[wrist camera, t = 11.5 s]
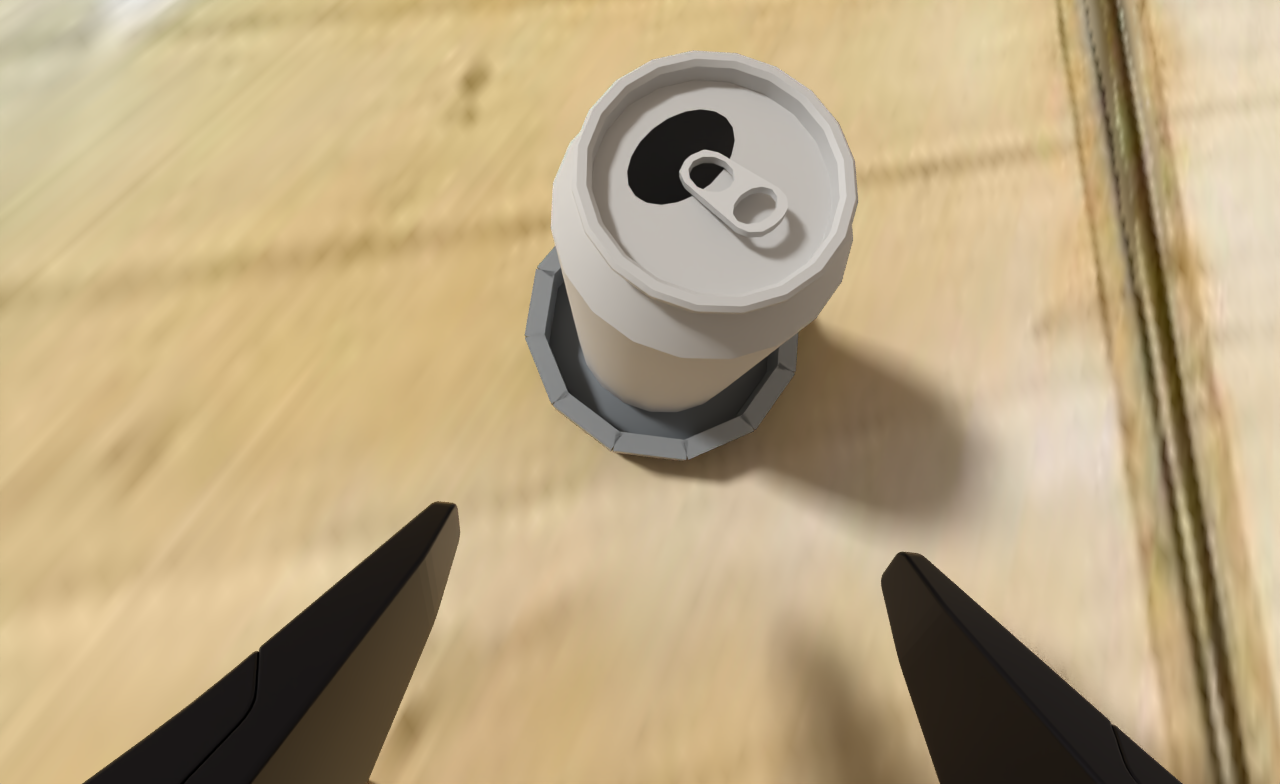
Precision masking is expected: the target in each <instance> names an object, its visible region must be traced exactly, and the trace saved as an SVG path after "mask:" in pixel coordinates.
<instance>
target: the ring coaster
mask: <svg viewBox="0 0 1280 784" xmlns="http://www.w3.org/2000/svg"><path fill="white" fill-rule="evenodd" d="M537 268H538V269H536V273H535V279H534V284H533V290H532V296H531V302H530V308H529V313H528V319H527V325H526V331H525V337H526V338H525V339H526V342H527V344H528V347H529V349H530V352H531V354H532V357H533V359H534V362H535V364H536V367H537V369H538V372H539V374H540V377H541V379H542V382H543V384H544V387H545V389H546V392H547V394H548V397H549V399H550V402H551V404H552V405H553V406H554V407H555V409H556V410H557V411H559V412H560V413H561V414H562V415H564V416H565V417H566V418H568V419H569V420H570V421H572V422H573V423H574V424H576V425H577V426H578V427H579V428H581V429H582V430H583V431H584V432H585V433H587V434H588V435H590V436H591V437H593V438H594V439H595V440H597V441H598V442H599V443H600V444H602V445H603V446H604V447H606V448H607V449H608V450H610V451H612V449H613V452H614V453H622V454H630V455H638V456H643V457H652V458H662V459H670V460H678V461H684V460H689V459H691V458H693V457H695V456H698V455H700V454H702V453H705V452H707V451H709V450H712V449H714V448H716V447H718V446H721V445H723V444H725V443H728V442H730V441H732V440H735V439H737V438H739V437H741V436H744V435H746V434H748V433H751V432H753V431H754V430H756V429H757V427H758V426H759V424H760V423H761V422H762V420H763V419H764V417H765V416H766V414H767V413H768V412H769V410H770V409H771V407H772V406H773V404H774V403H775V402H776V400H777V399H778V397H779V396H780V394H781V393H782V392H783V390H784V389H785V387H786V386H787V384H788V383H789V382H790V380H791V379H792V377H793V376H794V374H795V373H794V372H796V360H797V344H798V333H796V334H795V335H794V336H792V337H791V338H790V339H789V340H787V341H786V342H785V343H783V344H782V345H781V346H779V347H778V348H777V349H776V350H774V351H773V352H772V353H770V354H769V355H768V356H767V357H765V358H764V359H763V360H761V361H760V362H759V363H757V364H756V365H755V366H754V367H752V368H751V369H750V370H748V371H747V372H746V373H745V374H743V375H742V376H741V377H739V378H738V379H737V380H735V381H734V382H733V383H732V384H730V385H729V386H728V387H726V388H725V389H724V390H722V391H721V392H720V393H718V394H717V395H715V396H714V397H713V398H711V399H710V400H708V401H707V402H706V403H704V404H702V405H699V406H696V407H693V408H689V409H686V410H683V411H680V412H649V411H646V410H643V409H640V408H638V407H635V406H632V405H629V404H626V403H623V402H622V401H621V400H619V399H618V398H617V397H615V396H614V395H613V394H611V393H610V392H609V391H607V390H606V389H605V388H603V387H602V386H601V384H600V383H599V382H598V380H597V379H596V377H595V376H594V374H593V373H592V372H591V370H590V369H589V367H588V366H587V364H586V361H585V358H584V355H583V351H582V348H581V345H580V341H579V338H578V334H577V330H576V326H575V322H574V318H573V314H572V310H571V306H570V302H569V298H568V294H567V290H566V286H565V282H564V278H563V274H562V270H561V266H560V262H559V258H558V254H557V250H556V246H555V247H554V248H553V249H552V250H551V251H550V253H549V254H548V255H547V256H546V257H545V258H544V260H543V261H542V262H541V263H540V264H539V265H538V266H537Z"/></svg>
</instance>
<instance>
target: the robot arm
mask: <svg viewBox="0 0 1280 784" xmlns="http://www.w3.org/2000/svg"><path fill="white" fill-rule="evenodd" d="M459 537H460V526H459V516H458V508H457V505H456V504H454V503H449V502H439V501H437V502H434V503H432V504H431V505H429V506H428V507H427V508H426V509H425V510H423V511H422V512H421V513H420V514H419V515H417V516H416V517H415V518H414V519H413V520H411V521H410V522H409V523H408V524H407V525H405V526H404V527H403V528H402V529H401V530H399V531H398V532H397V533H396V534H395V535H393V536H392V537H391V538H390V539H389V540H387V541H386V542H385V543H384V544H383V545H381V546H380V547H379V548H378V549H377V550H375V551H374V552H373V553H372V554H371V555H370V556H368V557H367V558H366V559H365V560H364V561H362V562H361V563H360V564H359V565H358V566H356V567H355V568H354V569H353V570H352V571H350V572H349V573H348V574H347V575H346V576H344V577H343V578H342V579H341V580H340V581H338V582H337V583H336V584H335V585H334V586H332V587H331V588H330V589H329V590H328V591H326V592H325V593H324V594H323V595H322V596H320V597H319V598H318V599H317V600H316V601H315V602H313V603H312V604H311V605H310V606H309V607H307V608H306V609H305V610H304V611H303V612H301V613H300V614H299V615H298V616H297V617H295V618H294V619H293V620H292V621H291V622H289V623H288V624H287V625H286V626H285V627H283V628H282V629H281V630H280V631H279V632H277V633H276V634H275V635H274V636H273V637H271V638H270V639H269V640H268V641H267V642H265V643H264V644H263V645H262V646H261V647H260V649H259V652H258V651H255V652H253V653H252V654H251V655H250V656H248V657H247V658H246V659H245V660H244V661H242V662H241V663H240V664H239V665H238V666H236V667H235V668H234V669H233V670H232V671H231V672H229V673H228V674H227V675H226V676H224V677H223V678H222V679H221V680H219V681H218V682H217V683H216V684H214V685H213V686H212V687H211V688H209V689H208V690H207V691H206V692H204V693H203V694H202V695H201V696H199V697H198V698H197V699H196V700H195V701H193V702H192V703H191V704H189V705H188V706H187V707H185V708H184V709H183V710H181V711H180V712H179V713H177V714H176V715H175V716H173V717H172V718H171V719H170V720H168V721H167V722H166V723H164V724H163V725H162V726H160V727H159V728H158V729H156V730H155V731H154V732H152V733H151V734H150V735H148V736H147V737H146V738H144V739H143V740H142V741H140V742H139V743H137V744H136V745H135V746H133V747H132V748H131V749H129V750H128V751H126V752H125V753H124V754H122V755H121V756H120V757H118V758H117V759H115V760H114V761H113V762H111V763H110V764H109V765H107V766H106V767H104V768H103V769H102V770H100V771H99V772H98V773H96V774H95V775H94V776H92V777H91V778H89V779H88V780H87V781H85V782H84V783H83V784H367V782H368V780H369V777H370V775H371V773H372V770H373V768H374V765H375V763H376V761H377V758H378V756H379V753H380V751H381V749H382V746H383V744H384V742H385V739H386V737H387V734H388V732H389V730H390V727H391V725H392V723H393V720H394V718H395V715H396V713H397V711H398V708H399V706H400V703H401V701H402V699H403V696H404V694H405V692H406V689H407V687H408V684H409V682H410V680H411V677H412V675H413V672H414V670H415V668H416V665H417V663H418V661H419V658H420V656H421V653H422V651H423V649H424V646H425V644H426V641H427V639H428V637H429V634H430V632H431V629H432V627H433V624H434V622H435V619H436V616H437V613H438V610H439V607H440V603H441V600H442V597H443V593H444V590H445V586H446V583H447V580H448V576H449V573H450V570H451V566H452V563H453V559H454V556H455V553H456V549H457V546H458V542H459ZM881 587H882V591H883V596H884V600H885V604H886V609H887V613H888V617H889V622H890V626H891V630H892V635H893V639H894V643H895V647H896V651H897V655H898V659H899V662H900V666H901V669H902V672H903V675H904V678H905V681H906V684H907V687H908V690H909V693H910V696H911V699H912V702H913V705H914V708H915V711H916V714H917V717H918V720H919V723H920V726H921V729H922V732H923V735H924V738H925V741H926V744H927V747H928V750H929V753H930V756H931V759H932V762H933V765H934V767H935V770H936V773H937V776H938V779H939V782H940V784H1182V783H1181V782H1180V781H1179V780H1177V779H1176V778H1175V777H1174V776H1173V775H1172V774H1170V773H1169V772H1168V771H1167V770H1166V769H1165V768H1163V767H1162V766H1161V765H1160V764H1159V763H1158V762H1156V761H1155V760H1154V759H1153V758H1152V757H1151V756H1150V755H1148V754H1147V753H1146V752H1145V751H1144V750H1143V749H1141V748H1140V747H1139V746H1138V745H1137V744H1136V743H1135V742H1133V741H1132V740H1131V739H1130V738H1129V737H1128V736H1127V735H1126V734H1124V733H1123V732H1122V731H1121V730H1120V729H1119V728H1118V727H1117V726H1115V725H1111V722H1110V721H1109V720H1108V719H1107V718H1106V717H1105V716H1104V715H1103V714H1102V713H1101V712H1099V711H1098V710H1097V709H1096V708H1095V707H1094V706H1093V705H1092V704H1090V703H1089V702H1088V701H1087V700H1086V699H1085V698H1084V697H1082V696H1081V695H1080V694H1079V693H1078V692H1077V691H1076V690H1075V689H1073V688H1072V687H1071V686H1070V685H1069V684H1068V683H1067V682H1065V681H1064V680H1063V679H1062V678H1061V677H1060V676H1059V675H1058V674H1056V673H1055V672H1054V671H1053V670H1052V669H1051V668H1050V667H1049V666H1047V665H1046V664H1045V663H1044V662H1043V661H1042V660H1041V659H1039V658H1038V657H1037V656H1036V655H1035V654H1034V653H1033V652H1032V651H1030V650H1029V649H1028V648H1027V647H1026V646H1025V645H1024V644H1023V643H1021V642H1020V641H1019V640H1018V639H1017V638H1016V637H1015V636H1013V635H1012V634H1011V633H1010V632H1009V631H1008V630H1007V629H1006V628H1004V627H1003V626H1002V625H1001V624H1000V623H999V622H998V621H996V620H995V619H994V618H993V617H992V616H991V615H990V614H989V613H987V612H986V611H985V610H984V609H983V608H982V607H981V606H980V605H978V604H977V603H976V602H975V601H974V600H973V599H972V598H970V597H969V596H968V595H967V594H966V593H965V592H964V591H963V590H961V589H960V588H959V587H958V586H957V585H956V584H955V583H954V582H952V581H951V580H950V579H949V578H948V577H947V576H946V575H944V574H943V573H942V572H941V571H940V570H939V569H938V568H937V567H935V566H934V565H933V564H932V563H931V562H930V561H929V560H927V559H926V558H925V557H924V556H923V555H921V554H918V553H911V552H899V553H898V554H897V555H896V556H895V557H894V559H893V560H892V562H891V563H890V564H889V566H888V567H887V569H886V570H885V572H884V573H883V575H882V578H881Z"/></svg>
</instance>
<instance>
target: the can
mask: <svg viewBox="0 0 1280 784" xmlns="http://www.w3.org/2000/svg"><path fill="white" fill-rule="evenodd" d="M857 204H858V193H857V180H856V167H855V160H854V158H853V155H852V153H851V151H850V148H849V146H848V143H847V141H846V139H845V136H844V134H843V132H842V129H841V127H840V124H839V123H838V121H837V120H836V119H835V118H834V117H833V116H832V114H831V113H830V112H829V111H828V110H827V108H826V107H825V106H824V105H823V104H822V102H821V101H820V100H819V99H818V98H817V96H816V95H815V94H814V93H813V92H812V91H811V90H810V89H808V88H807V87H805V86H804V85H802V84H801V83H799V82H798V81H796V80H795V79H794V78H792V77H791V76H789V75H788V74H786V73H785V72H783V71H782V70H780V69H779V68H777V67H775V66H772V65H769V64H766V63H763V62H761V61H758V60H755V59H752V58H749V57H746V56H743V55H740V54H737V53H724V52H707V51H689V52H685V53H680V54H676V55H671V56H667V57H662V58H658V59H653V60H651V61H649V62H647V63H646V64H644V65H642V66H640V67H638V68H637V69H635V70H633V71H631V72H630V73H628V74H626V75H624V76H623V77H621V78H619V79H617V80H616V81H615V82H614V83H613V84H612V85H611V86H610V88H609V89H608V90H607V91H606V92H605V93H604V94H603V95H602V96H601V98H600V99H599V100H598V101H597V102H596V103H595V104H594V105H593V106H592V108H591V109H590V110H589V112H588V114H587V116H586V119H585V121H584V124H583V126H582V129H581V131H580V132H579V133H578V134H577V135H576V137H575V138H574V139H573V140H572V141H571V142H570V144H569V146H568V148H567V151H566V153H565V156H564V158H563V160H562V163H561V165H560V168H559V170H558V173H557V175H556V177H555V180H554V182H553V194H552V215H551V230H552V234H553V238H554V242H555V246H556V250H557V254H558V258H559V262H560V266H561V270H562V274H563V278H564V282H565V286H566V290H567V294H568V298H569V302H570V306H571V310H572V314H573V318H574V322H575V326H576V330H577V334H578V338H579V341H580V345H581V348H582V351H583V355H584V358H585V361H586V364H587V366H588V367H589V369H590V370H591V372H592V373H593V374H594V376H595V377H596V379H597V380H598V382H599V383H600V384H601V386H602V387H603V388H605V389H606V390H607V391H609V392H610V393H611V394H613V395H614V396H615V397H617V398H618V399H619V400H621V401H622V402H623V403H626V404H629V405H632V406H635V407H638V408H640V409H643V410H646V411H649V412H680V411H683V410H686V409H689V408H693V407H696V406H699V405H702V404H704V403H706V402H707V401H708V400H710V399H711V398H713V397H714V396H715V395H717V394H718V393H720V392H721V391H722V390H724V389H725V388H726V387H728V386H729V385H730V384H732V383H733V382H734V381H735V380H737V379H738V378H739V377H741V376H742V375H743V374H745V373H746V372H747V371H748V370H750V369H751V368H752V367H754V366H755V365H756V364H757V363H759V362H760V361H761V360H763V359H764V358H765V357H767V356H768V355H769V354H770V353H772V352H773V351H774V350H776V349H777V348H778V347H779V346H781V345H782V344H783V343H785V342H786V341H787V340H789V339H790V338H791V337H792V336H794V335H795V334H796V333H798V332H799V331H800V330H802V329H803V328H804V327H805V326H807V325H808V324H809V323H811V322H812V321H813V320H814V319H816V318H817V316H818V315H819V313H820V312H821V310H822V309H823V308H824V306H825V305H826V303H827V302H828V300H829V299H830V298H831V296H832V295H833V293H834V292H835V290H836V289H837V288H838V286H839V285H840V283H841V282H842V279H843V275H844V271H845V268H846V264H847V260H848V256H849V253H850V249H851V245H852V242H853V232H852V223H853V219H854V215H855V212H856V208H857Z"/></svg>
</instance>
